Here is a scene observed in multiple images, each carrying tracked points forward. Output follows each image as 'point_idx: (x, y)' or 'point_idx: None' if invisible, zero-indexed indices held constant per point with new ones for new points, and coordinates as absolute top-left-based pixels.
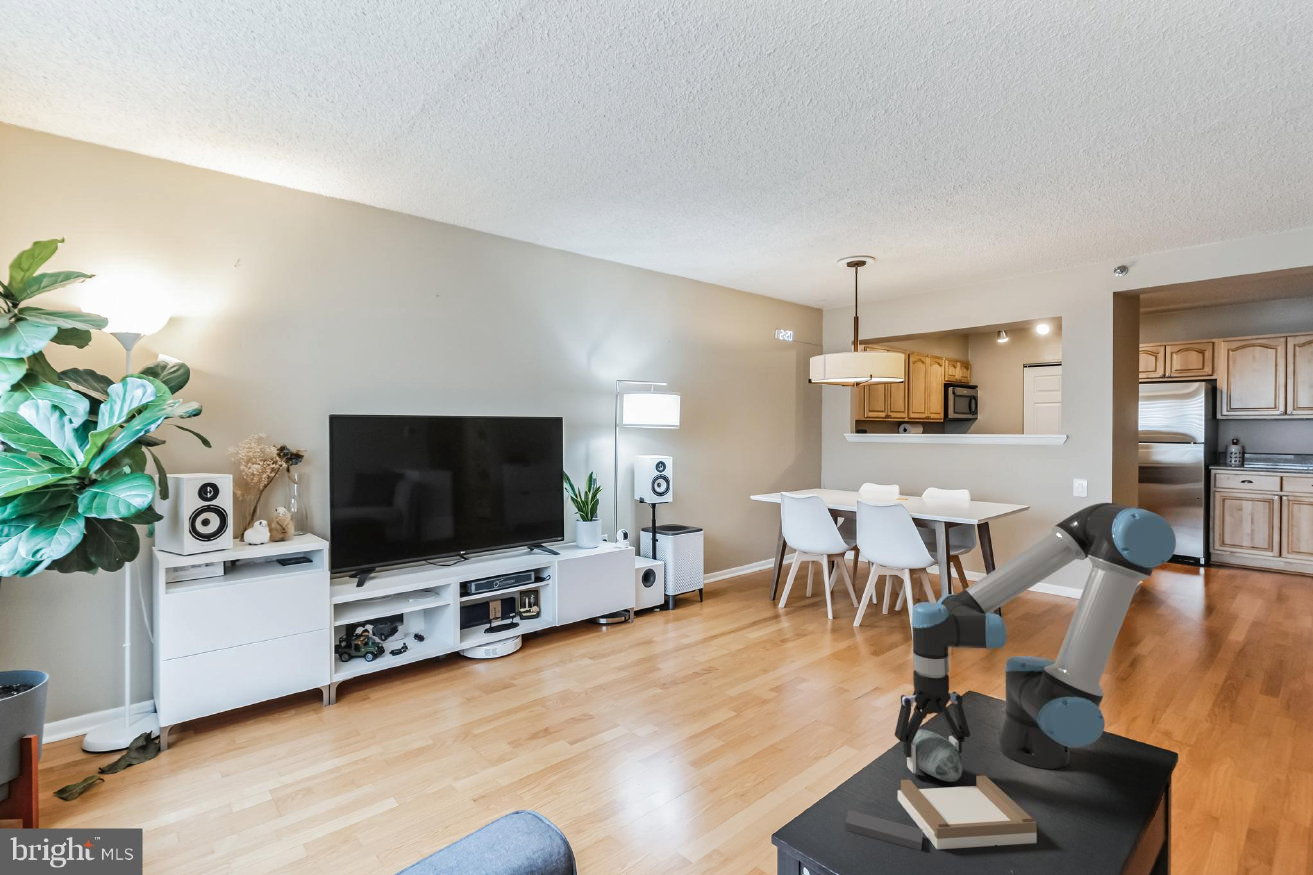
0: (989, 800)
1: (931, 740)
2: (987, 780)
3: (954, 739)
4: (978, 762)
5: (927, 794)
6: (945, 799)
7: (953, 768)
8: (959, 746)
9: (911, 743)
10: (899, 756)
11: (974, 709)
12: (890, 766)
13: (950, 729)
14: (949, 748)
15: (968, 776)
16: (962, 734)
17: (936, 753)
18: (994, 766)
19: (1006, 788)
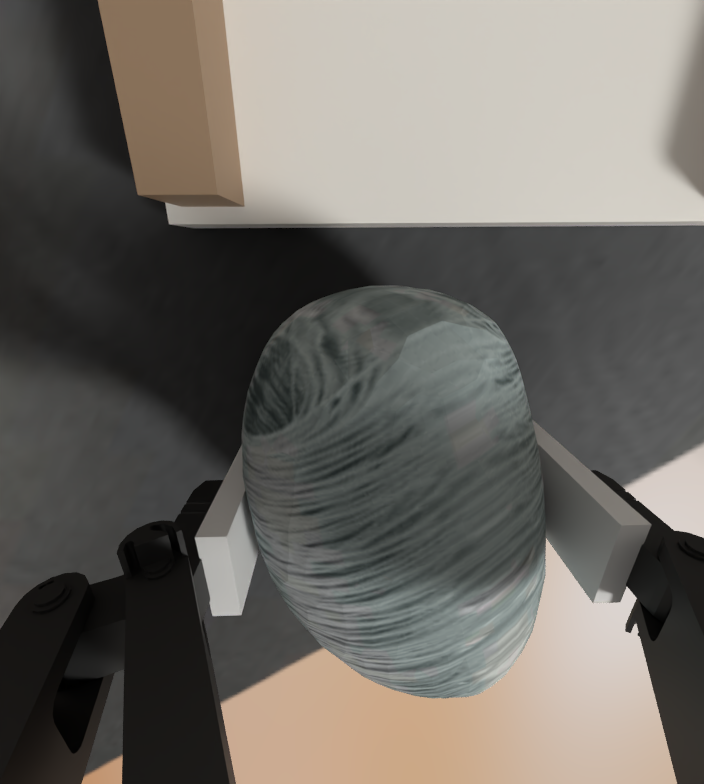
0: (228, 2)
1: (474, 552)
2: (149, 100)
3: (216, 568)
4: (116, 500)
5: (628, 147)
6: (549, 62)
7: (372, 287)
8: (197, 515)
9: (639, 542)
10: None
11: None
12: None
13: (214, 678)
14: (375, 407)
15: (214, 400)
16: (110, 607)
17: (502, 394)
18: (50, 467)
19: (52, 278)
